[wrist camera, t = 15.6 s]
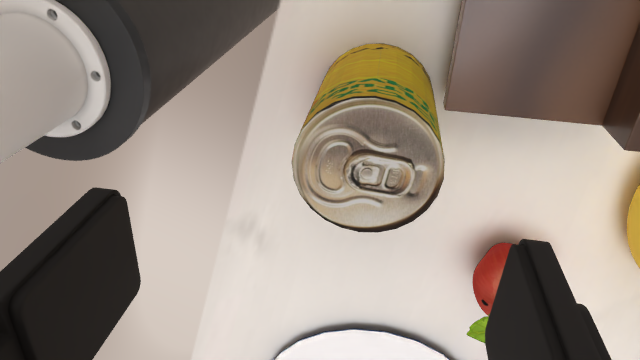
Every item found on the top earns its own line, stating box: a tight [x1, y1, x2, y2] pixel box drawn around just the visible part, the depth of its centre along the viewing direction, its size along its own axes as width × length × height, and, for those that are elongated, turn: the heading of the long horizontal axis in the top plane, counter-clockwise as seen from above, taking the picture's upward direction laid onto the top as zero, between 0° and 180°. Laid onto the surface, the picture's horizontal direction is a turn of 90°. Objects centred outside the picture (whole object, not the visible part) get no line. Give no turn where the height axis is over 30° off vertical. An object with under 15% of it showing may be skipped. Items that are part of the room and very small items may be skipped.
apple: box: [467, 243, 512, 343], centre depth 40 cm, size 8×7×10 cm
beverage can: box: [292, 44, 445, 232], centre depth 34 cm, size 9×9×12 cm
